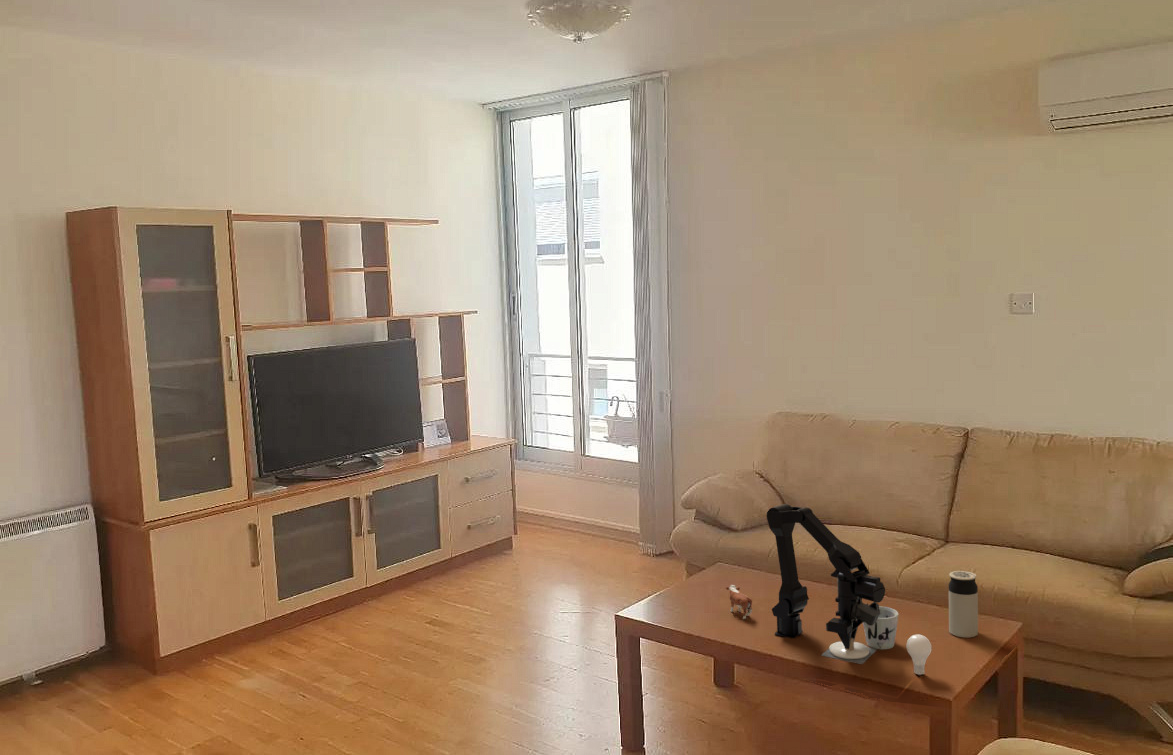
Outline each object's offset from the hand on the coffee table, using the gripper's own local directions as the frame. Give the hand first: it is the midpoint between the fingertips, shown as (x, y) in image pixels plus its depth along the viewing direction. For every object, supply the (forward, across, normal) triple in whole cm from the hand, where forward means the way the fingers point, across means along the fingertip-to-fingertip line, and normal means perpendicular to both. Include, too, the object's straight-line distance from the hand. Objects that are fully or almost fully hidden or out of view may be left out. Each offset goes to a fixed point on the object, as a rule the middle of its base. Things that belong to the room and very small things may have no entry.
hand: (849, 646), depth 263 cm
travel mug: (+2, +31, -23) cm, 39 cm away
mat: (+2, 0, 0) cm, 2 cm away
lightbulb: (+2, -4, -21) cm, 21 cm away
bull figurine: (+2, +13, +42) cm, 44 cm away
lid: (+1, 0, 0) cm, 1 cm away
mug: (+2, +12, -4) cm, 13 cm away
